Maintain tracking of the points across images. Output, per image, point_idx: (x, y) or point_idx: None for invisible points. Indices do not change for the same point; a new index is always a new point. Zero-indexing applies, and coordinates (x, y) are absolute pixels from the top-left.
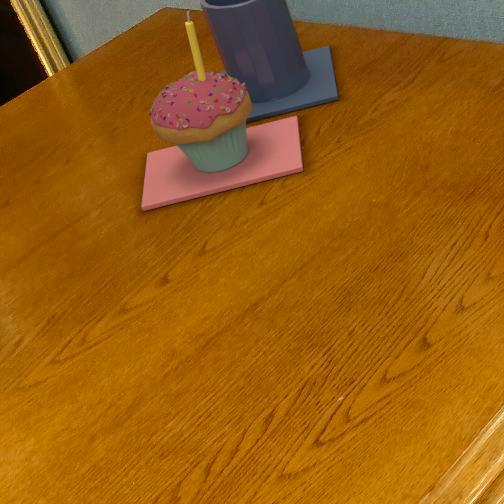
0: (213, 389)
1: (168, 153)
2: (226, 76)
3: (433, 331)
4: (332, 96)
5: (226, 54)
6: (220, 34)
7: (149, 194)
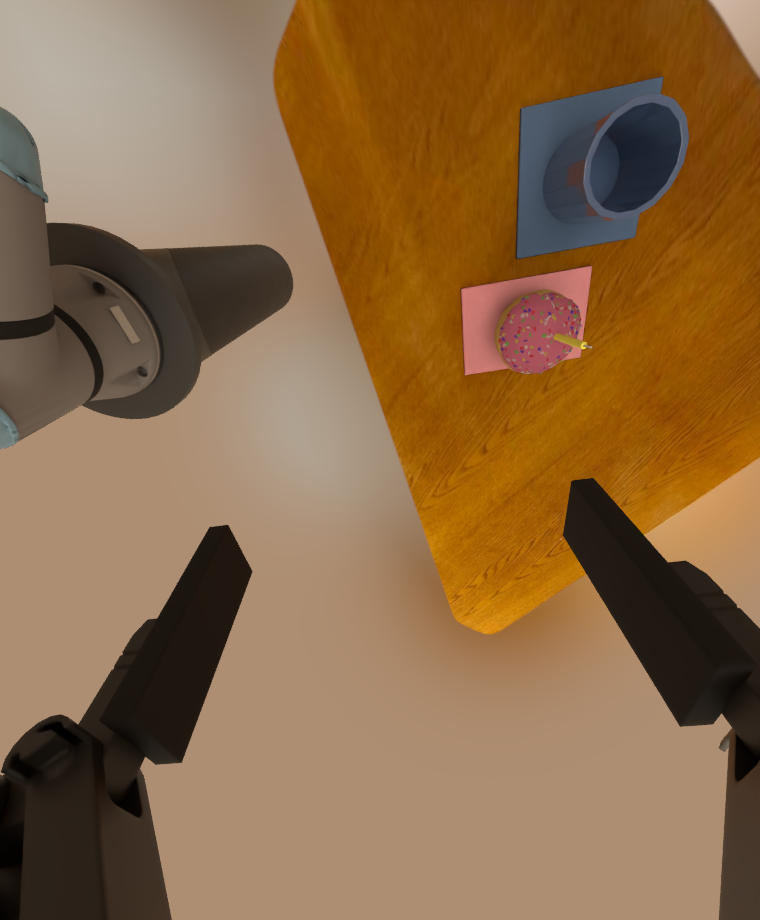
0: (510, 525)
1: (480, 297)
2: (573, 322)
3: None
4: (630, 237)
5: (569, 209)
6: (580, 210)
7: (469, 359)
